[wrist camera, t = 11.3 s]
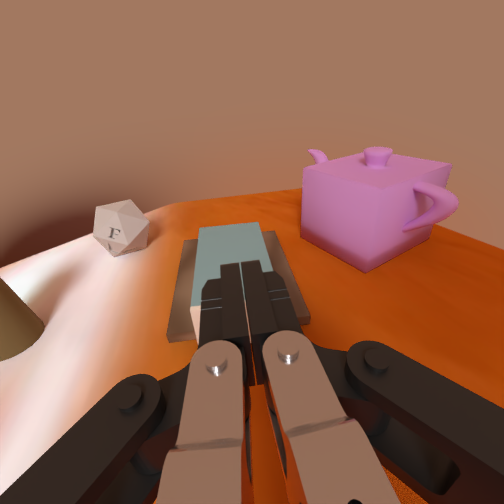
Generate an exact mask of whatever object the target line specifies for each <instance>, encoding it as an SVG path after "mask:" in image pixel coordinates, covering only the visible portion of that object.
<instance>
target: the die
mask: <svg viewBox="0 0 504 504" xmlns="http://www.w3.org/2000/svg"><path fill="white" fill-rule="evenodd" d="M149 224H150V221H149V220H148V219H147V218H146V217H145V216H144V215H143V213H142V212H141V211H140V210H139V209H138V208H137V206H136V205H135V204H134V203H133V202H132V201H131V200H126V201H121V202H117V203H112V204H108V205H103V206H98V207H96V213H95V222H94V232H93V237H94V238H95V239H96V240H97V241H98V242H99V243H100V244H101V245H102V246H103V247H104V248H105V249H106V250H107V251H108V252H109V253H110V254H111V255H112V256H113V257H116V256H120V255H123V254H127V253H130V252H134V251H137V250H141V249H144V248H146V247H147V239H148V232H149Z"/></svg>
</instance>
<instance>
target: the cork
mask: <svg viewBox="0 0 504 504" xmlns="http://www.w3.org/2000/svg"><path fill="white" fill-rule="evenodd" d="M44 327H45V326H44V324H43V322H42V321H41V320H40V319H39V318H38V317H37V316H36V314H35V313H34V312H33V311H32V310H31V309H30V308H29V307H28V306H27V305H26V304H25V303H24V302H23V301H22V300H21V299H20V298H19V297H18V296H17V294H16V293H15V292H14V291H13V290H12V289H11V288H10V287H9V286H8V285H7V284H6V283H5V282H4V281H3V280H2V279H1V278H0V361H3V360H6V359H9V358H11V357H13V356H15V355H17V354H19V353H21V352H23V351H24V350H26V349H27V348H29V347H30V346H32V345H33V344H34V343H35V342H36V341H37V340H38V339H39V338H40V336H41V335H42V333H43V331H44Z"/></svg>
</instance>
